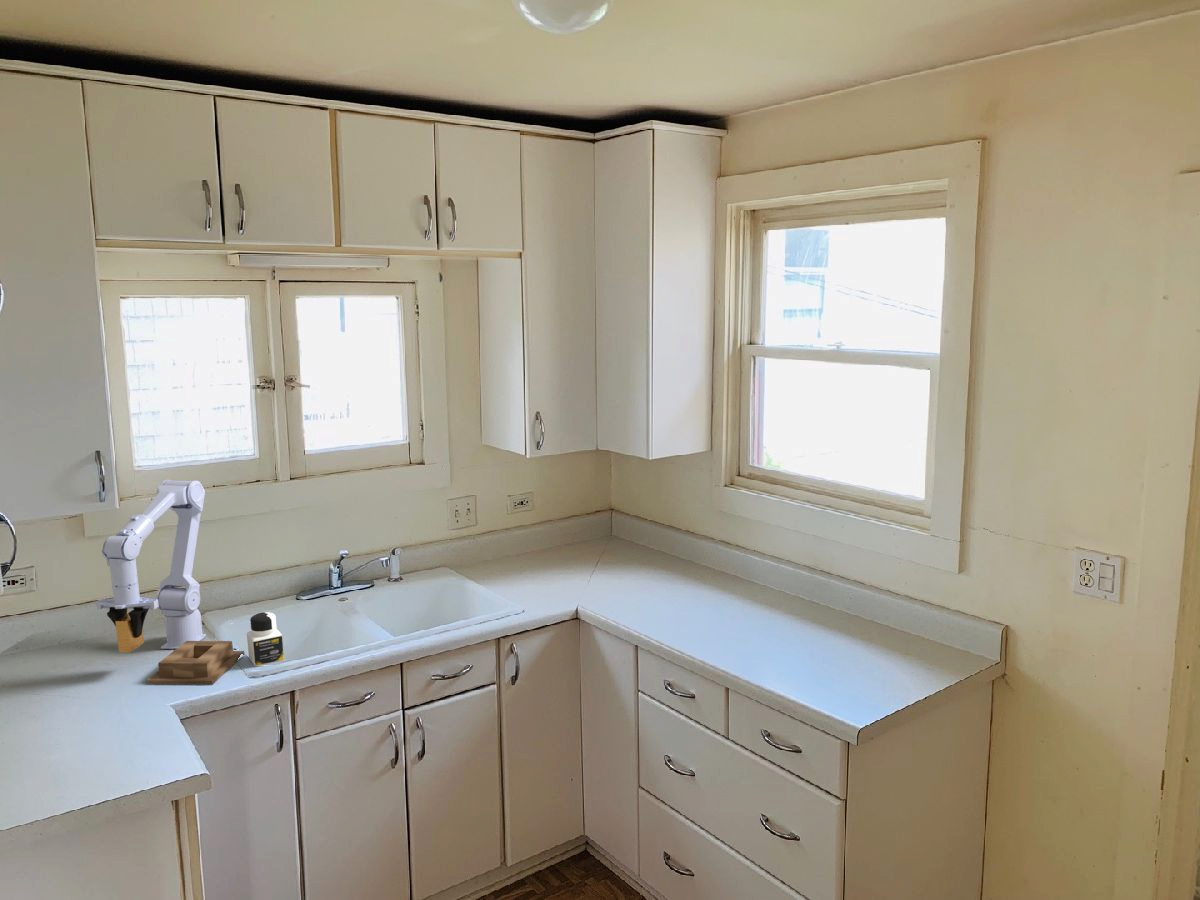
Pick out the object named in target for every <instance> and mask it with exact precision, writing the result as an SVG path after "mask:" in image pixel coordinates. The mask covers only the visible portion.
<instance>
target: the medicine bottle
mask: <svg viewBox="0 0 1200 900" xmlns="http://www.w3.org/2000/svg"><path fill="white" fill-rule="evenodd" d="M249 619H250V630H251V631H247V632H246V639H247V649H248V658H249V660H250V661H251V662H252V664H253V665H254V667H256V666H257V667H261V666H266V665H270V664H275V663H278V662H283V661H284V659H285V654H284V645H283V644H284V641H283V634H282V633H281V632H280V631H279V629H277V618H276V614H275V613H273V612H267V611H264V612H258V613H256V614H254V615H252V616H251V617H250V618H249ZM257 667H256V668H257Z"/></svg>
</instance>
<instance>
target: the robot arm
mask: <svg viewBox="0 0 1200 900" xmlns="http://www.w3.org/2000/svg"><path fill="white" fill-rule="evenodd" d="M205 495H206V490H205V488H204V487H203V485H202V483H201V482H200V481H199V480H174V479H173V480H172V479H164V480H163V481H162V482H161V483H160V485H159V486H157V489H156V496H155V497H154V498H153V499H152V500H151V502H150V503H149V505H148V506H147V507H146V508H145V510H144V511H143V512H142V514H134V515H131V517H130V518H129V520H128V522H126V523H125V525H124V526H123V527H122V528H121V529H120V530H119V531H118V532H117V533H116V534H115V535H111V536H109V537H107V538H106V539H105V540H104V542H103V545H102V549H101V554H102V556H103V557H104V558H105V559H106V565H108V567H109V573H110V581H111V587H112V588H111V589H112V596H113V598H106V599H104V598H103V599H102V598H101V599H98V600H97V601H96V602H95V604H96V605H95V606H96V610H102V609H108V612H107V613H106V616H107V617H108V618H109V619H110V621H111V622H112V623H113V624H114V627H116V622H115V621H116V620H118V619H119V618H121V617H122V616H124V615H126V614H127V613H128V614H129V616H130V618H131V621H132V625H133V632H134V637H135V638H138V637H139V636H141V635H142V628H143V629H144V627H143V626H144V623H145V619H146V617H147V615H148V612H149V610H156V609H158V610H160V611H161V614H162V615H164V622H165V631H166V632H165V633H166V640H167V642H165V643H164V644H163V645H161V646H160V649H163V650H176V649H177V648H178V647H179V646H181V645H182V644H183V643H184V642H186V641H202V640H203V639H204V638H205V637H206V636H207V633H203V624H202V616H201V615H202V614H201V612H200V610H199V609H198V608H199V606H200V603H201V594H200V587H201V585H200V583H199V582H198V581H197V580H195V579H194V577H192V575H193V569H194V561H195V555H196V548H197V544H198V543H197V542H198V535H199V529H200V528H199V527H200V523H201V522H200V521H201V517H202V515H201V514H202V512H203V509H204V501H205ZM169 509H170V510H171V511H173V512H175V514H176V515H177V517H178V518H177V524H176V532H175V537H174V545H173V546H174V547H173V552H172V559H171V564H170V565H171V566H170V571H169V575H168V576H166V577H165V578H164V579H162V580H161V582H160V584H159V589H158V591H157V593H156V595H155V598H154V599H153V598H147V597H141V595H140V588H139V586H140V585H139V577H138V570H137V569H138V568H137V561H136V560H137V559H136V558H137V557H138V556H139V554H140V551H141V548H142V546H143V542H144V541H145V540H146V539H147V538H148V537H149V536H150V534H151V533H152V532H153V531H154V529H155V524H154V523H155V522H156V521H157V520H159V518H160V517H161V516H163V515H164V514H165V513H166V512H167V511H168V510H169ZM128 609H132V610H131V611H129V612H128Z"/></svg>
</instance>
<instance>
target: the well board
mask: <svg viewBox="0 0 1200 900" xmlns="http://www.w3.org/2000/svg"><path fill="white" fill-rule="evenodd" d="M233 646H234V645H233V641H232V640H200V641H186V642H184V643H183V644H182V645H181V646H179V647H178V648H177V649H173V651H172V652H171V653H169V654H168V655H167V656H165V657H164V658H163V659H161V660H160V661H159V662H158V664H157V665H158V671H156V673H154V674H153V675H152V676H151V677H149V678H148V679H147V680H146V682H147V683H146V684H147V685H207V686H208V685H212V686H213V685H214V684H215V683H216V682H217V681H218V680H220V678H222V676H223V675H225V674H226V673H227V672H228V671H229V670H230V669H231V668H232V667H233V666H234V665H235V664H236V663H237V662H238V661H239V660H238V658H239V657H240V655H241V654H243V655H244V656H245V654H246V653H245V650H234V647H233ZM237 660H238V661H237Z"/></svg>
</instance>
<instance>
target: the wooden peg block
mask: <svg viewBox="0 0 1200 900" xmlns="http://www.w3.org/2000/svg"><path fill="white" fill-rule="evenodd" d="M128 613H129V612H127V614H126V615H124V616H122V617H121V618H119V619H118V620H116V621H115V622H116V626H115V629H116V637H117V647H118V653H132V652H134V651H135V650H136V649H137V648H139V647H140V646H141V645H143V644H144V643H145V637H144V627H143V628H142V635H141V636H139V637H138V638H135V637H134V632H133V625H132V621H131V618H130V616H129V614H128Z"/></svg>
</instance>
